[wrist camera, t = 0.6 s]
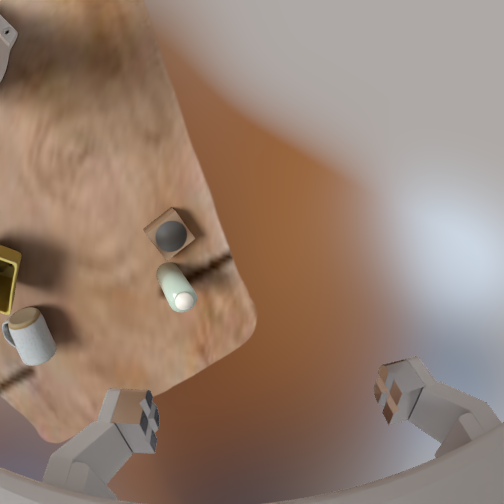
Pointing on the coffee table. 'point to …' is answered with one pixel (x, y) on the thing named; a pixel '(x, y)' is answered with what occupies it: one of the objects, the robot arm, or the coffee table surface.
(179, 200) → the coffee table surface
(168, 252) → the base
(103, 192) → the coffee table surface
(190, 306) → the column
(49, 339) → the ceramic mug
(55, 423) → the coffee table surface
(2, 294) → the flower pot
